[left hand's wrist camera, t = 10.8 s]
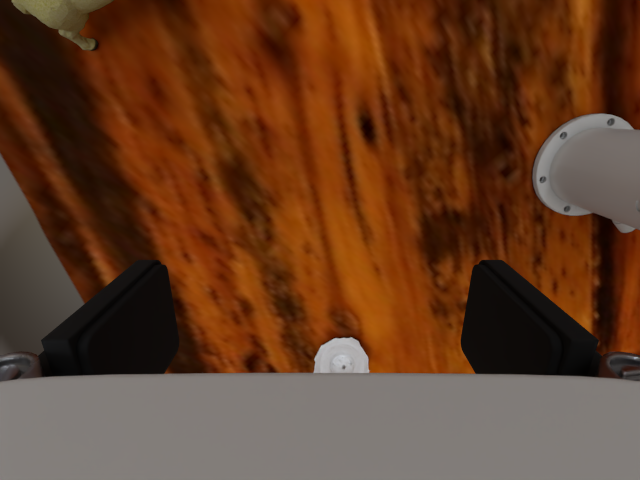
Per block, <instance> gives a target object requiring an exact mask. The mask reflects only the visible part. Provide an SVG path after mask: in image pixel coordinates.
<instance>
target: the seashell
mask: <svg viewBox="0 0 640 480" xmlns="http://www.w3.org/2000/svg"><path fill="white" fill-rule="evenodd" d="M314 360H315V370H314V373H369V369H368V356H367V355H366V354H365V352H364V350H363V349H362V347H361V346H360V344H359V341H357V340H355V339H353V338H352V337H351V338H340V339H339V338H334V339H333V340H331V341H329V342H327V343H326V344H324V345H321V347H320V349H319V351H318V353H317V355H316V357H315V359H314Z"/></svg>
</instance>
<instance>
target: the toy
mask: <svg viewBox="0 0 640 480" xmlns="http://www.w3.org/2000/svg"><path fill="white" fill-rule="evenodd" d="M112 1H114V0H12V3H13V4H14V5H15V7H16V8H18V9H19V10H20V11H21V12H23V13H24V14H32V15H34V16H36V17H37V18H38V19H39V20H40V21H41V22H43V23H44V24H46V25H47V26H49V27H51V28H54V29H59V33H60V35H62V36H64V37H66V38H68V39H70V40H72V41H73V42H75V43H76V44H78V45H79V46H80V47H81V48H82V49H83V50H95V49H96V48H97V45H98V42H97V41H96V40H95V39H93V38H92V39H88V38H85V37H82V36H81V35H80V34H79V32H80V31H81V30H82V29H83V28H84V26H85V23H86V21H87V20H88V18H89V13H90V12H92V11H95V10H97V9H100V8H102V7H104V6H105V5H107V4H109V3H111V2H112Z"/></svg>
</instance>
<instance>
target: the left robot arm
mask: <svg viewBox="0 0 640 480" xmlns="http://www.w3.org/2000/svg"><path fill="white" fill-rule="evenodd" d="M560 134H561V135H560ZM532 179H533V186H534V189H535V192H536V195H537V196H538V198H539V199H540V201H541V202H542V203H543V204H544V205H545V206H547V207H548V208H550V209H552V210H553V211H556V212H558V213H561V214H565V215H570V216H580V215H586V214H590V213H596V214H599V215H601V216H604V217H606V218H609V219H612V221H613V223H614V225H615V226H616V227H617V228H618V230H619V231H620V232H622V233H628V232H631V231H633V230H635V229H638V230H640V130H634V129H633V128H632V127H631V125H630V124H629V123H628V122H626V121H625V120H623V119H622V118H620V117H617V116H614V115H609V114H588V115H583V116H580V117H577V118H575V119H572V120H570V121H568V122H567V123H565V124H563V125H562V126H560V127H559V128H558V129H557V130H555V131H554V132H553V133H552V134H551V135H550V136H549V138H548V139H547V140H546V141H545V142H544V144H543V145H542V147H541V149H540V150H539V152H538V155H537V157H536V159H535V163H534V167H533V177H532ZM41 341H42V345H43V348H44V351H43V352H42V353H41V354H40V355H39V356H37V355H36V354H34V353H31V352H14V353H8V354H4V355H0V480H640V355H636V354H632V353H626V352H609V353H606V354H604V355H603V356H601V355H600V354H599V353H598V352H597V351H596V348H597V345H598V342H599V340H598V339H597V338H596V337H594V336H593V335H592V334H591V333H589V332H588V331H587V330H586V329H585V328H583V327H582V326H581V325H580V324H579V323H577V322H576V321H575V320H574V319H573V318H571V317H570V316H569V315H568V314H567V313H565V312H564V311H563V310H562V309H561V308H559V307H558V306H557V305H556V304H555V303H553V302H552V301H551V300H550V299H548V298H547V297H546V296H545V295H544V294H542V293H541V292H540V291H539V290H538V289H536V288H535V287H534V286H533V285H532V284H530V283H529V282H528V281H527V280H526V279H524V278H523V277H522V276H521V275H520V274H518V273H517V272H516V271H515V270H514V269H512V268H511V267H510V266H509V265H508V264H506V263H505V262H504V261H502V260H481V261H480V262H479V264H478V265H475V266H474V267H473V270H472V275H471V281H470V287H469V293H468V299H467V305H466V311H465V317H464V323H463V329H462V335H461V347H462V351H463V353H464V354H465V356H466V358H467V359H468V361H469V363H470V365H471V366H472V368H473V370H474V371H475V373H476V374H423V373H210V374H164V373H165V371H166V370H167V368H168V366H169V365H170V363H171V361H172V359H173V358H174V356H175V354H176V353H177V351H178V347H179V335H178V329H177V323H176V317H175V311H174V305H173V299H172V293H171V287H170V281H169V275H168V270H167V267H166V266H165V265H162V264H161V262H160V261H159V260H138V261H136V262H135V263H134V264H132V265H131V266H130V267H129V268H128V269H126V270H125V271H124V272H123V273H122V274H120V275H119V276H118V277H117V278H116V279H114V280H113V281H112V282H111V283H110V284H108V285H107V286H106V287H105V288H104V289H102V290H101V291H100V292H99V293H98V294H96V295H95V296H94V297H93V298H92V299H90V300H89V301H88V302H87V303H85V304H84V305H83V306H82V307H81V308H79V309H78V310H77V311H76V312H75V313H73V314H72V315H71V316H70V317H69V318H67V319H66V320H65V321H64V322H63V323H61V324H60V325H59V326H58V327H57V328H55V329H54V330H53V331H52V332H51V333H49V334H48V335H47V336H46V337H44V338H43V339H42V340H41Z"/></svg>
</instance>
